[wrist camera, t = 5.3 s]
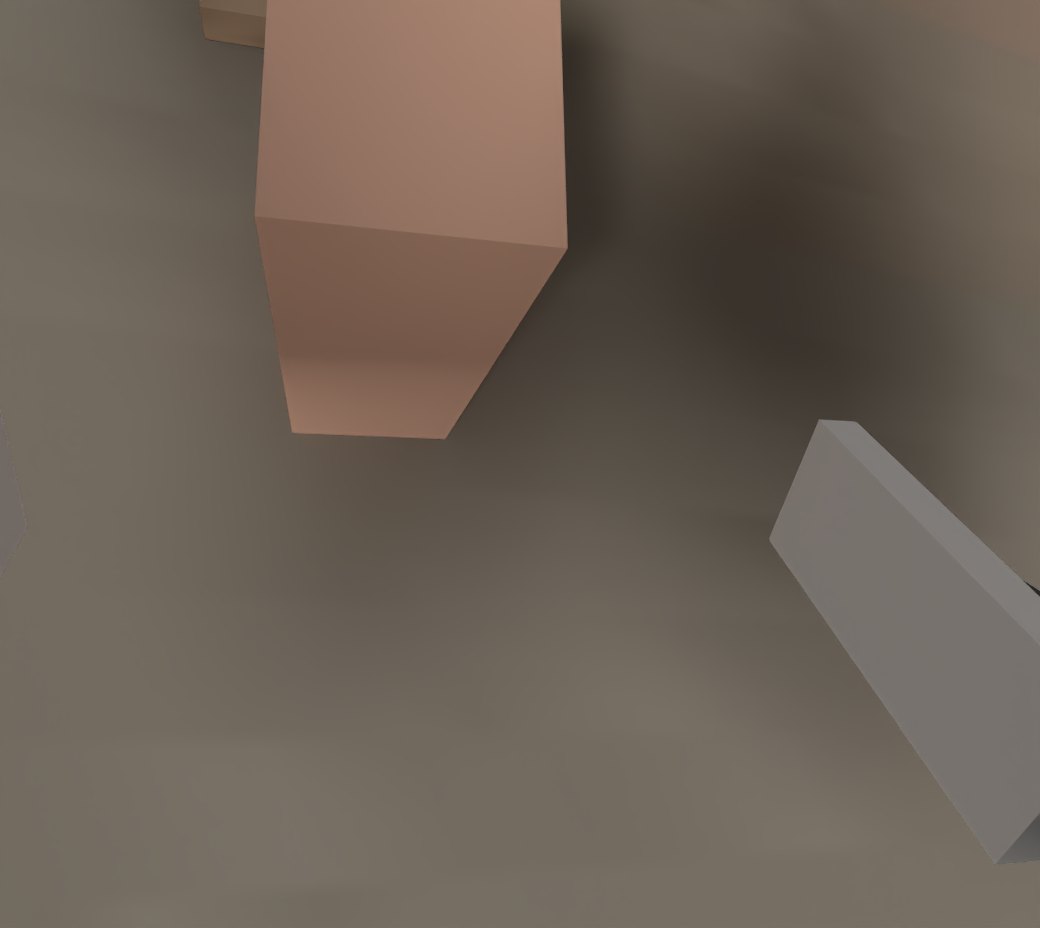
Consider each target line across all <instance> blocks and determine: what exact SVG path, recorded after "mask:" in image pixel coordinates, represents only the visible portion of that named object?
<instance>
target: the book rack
mask: <svg viewBox="0 0 1040 928" xmlns="http://www.w3.org/2000/svg"><path fill="white" fill-rule="evenodd" d="M199 10H200V15H201V20H202V25H203V29H204V34H205V39H208V40H215V41H221V42H228V43H234V44H241V45H247V46H254V47H260V48H264V46H265V29H266V12H267V0H199Z"/></svg>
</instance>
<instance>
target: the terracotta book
mask: <svg viewBox="0 0 1040 928" xmlns="http://www.w3.org/2000/svg"><path fill="white" fill-rule="evenodd" d="M255 221H256V227H257V233H258V239H259V244H260V250H261V256H262V262H263V267H264V273H265V279H266V285H267V290H268V296H269V302H270V308H271V314H272V319H273V325H274V331H275V337H276V342H277V348H278V354H279V360H280V365H281V371H282V377H283V383H284V388H285V394H286V400H287V406H288V411H289V417H290V423H291V429H292V433H308V434H332V435H356V436H381V437H405V438H429V439H446V437H447V436H448V434H449V433H450V431H451V430H452V428H453V426H454V425H455V423H456V422H457V420H458V419H459V417H460V416H461V414H462V412H463V411H464V409H465V408H466V406H467V405H468V403H469V402H470V400H471V398H472V397H473V395H474V394H475V392H476V391H477V389H478V387H479V386H480V384H481V383H482V381H483V380H484V378H485V377H486V375H487V373H488V372H489V370H490V369H491V367H492V366H493V364H494V363H495V361H496V359H497V358H498V356H499V355H500V353H501V352H502V350H503V349H504V347H505V345H506V344H507V342H508V341H509V339H510V338H511V336H512V334H513V333H514V331H515V330H516V328H517V327H518V325H519V324H520V322H521V320H522V319H523V317H524V316H525V314H526V313H527V311H528V310H529V308H530V306H531V305H532V303H533V302H534V300H535V299H536V297H537V296H538V294H539V292H540V291H541V289H542V288H543V286H544V285H545V283H546V281H547V280H548V278H549V277H550V275H551V274H552V272H553V271H554V269H555V267H556V266H557V264H558V263H559V261H560V260H561V258H562V257H563V255H564V253H565V252H566V250H567V249H568V243H567V209H566V176H565V142H564V109H563V75H562V42H561V8H560V0H267V12H266V29H265V46H264V63H263V80H262V97H261V114H260V132H259V149H258V166H257V183H256V200H255Z"/></svg>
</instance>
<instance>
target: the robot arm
mask: <svg viewBox="0 0 1040 928" xmlns="http://www.w3.org/2000/svg"><path fill="white" fill-rule="evenodd" d="M26 530H27V524H26V520H25V515H24V511H23V506H22V502H21V497H20V493H19V488H18V484H17V479H16V475H15V470H14V466H13V462H12V457H11V453H10V448H9V444H8V439H7V435H6V430H5V426H4V421H3V417H2V412H1V408H0V578H1V576H2V574H3V572H4V570H5V569H6V567H7V565H8V563H9V561H10V559H11V558H12V556H13V554H14V552H15V550H16V549H17V547H18V545H19V543H20V541H21V540H22V538H23V536H24V534H25V532H26ZM769 541H770V542H771V544H772V545H773V546H774V548H775V549H776V551H777V552H778V554H779V555H780V557H781V558H782V559H783V561H784V562H785V564H786V565H787V567H788V568H789V569H790V571H791V572H792V574H793V575H794V577H795V578H796V580H797V581H798V582H799V584H800V585H801V587H802V588H803V590H804V591H805V592H806V594H807V595H808V597H809V598H810V600H811V601H812V603H813V604H814V605H815V607H816V608H817V610H818V611H819V613H820V614H821V615H822V617H823V618H824V620H825V621H826V623H827V624H828V626H829V627H830V628H831V630H832V631H833V633H834V634H835V636H836V637H837V638H838V640H839V641H840V643H841V644H842V646H843V647H844V648H845V650H846V651H847V653H848V654H849V656H850V657H851V659H852V660H853V661H854V663H855V664H856V666H857V667H858V669H859V670H860V671H861V673H862V674H863V676H864V677H865V679H866V680H867V682H868V683H869V684H870V686H871V687H872V689H873V690H874V692H875V693H876V694H877V696H878V697H879V699H880V700H881V702H882V703H883V705H884V706H885V707H886V709H887V710H888V712H889V713H890V715H891V716H892V717H893V719H894V720H895V722H896V723H897V725H898V726H899V728H900V729H901V730H902V732H903V733H904V735H905V736H906V738H907V739H908V740H909V742H910V743H911V745H912V746H913V748H914V749H915V750H916V752H917V753H918V755H919V756H920V758H921V759H922V761H923V762H924V763H925V765H926V766H927V768H928V769H929V771H930V772H931V773H932V775H933V776H934V778H935V779H936V781H937V782H938V784H939V785H940V786H941V788H942V789H943V791H944V792H945V794H946V795H947V796H948V798H949V799H950V801H951V802H952V804H953V805H954V807H955V808H956V809H957V811H958V812H959V814H960V815H961V817H962V818H963V819H964V821H965V822H966V824H967V825H968V827H969V828H970V830H971V831H972V832H973V834H974V835H975V837H976V838H977V840H978V841H979V842H980V844H981V845H982V847H983V848H984V850H985V851H986V852H987V854H988V855H989V857H990V858H991V860H992V861H993V863H994V864H995V865H998V864H1007V863H1017V862H1027V861H1036V860H1040V591H1039V590H1037V589H1036V588H1034V587H1033V586H1031V585H1029V584H1028V583H1026V582H1025V581H1023V580H1022V579H1021V578H1020V577H1019V576H1017V575H1016V574H1015V573H1014V572H1013V571H1012V570H1011V569H1010V568H1009V567H1008V566H1007V565H1006V564H1005V563H1004V562H1003V561H1002V560H1001V559H1000V558H999V557H998V556H997V555H995V554H994V553H993V552H992V551H991V550H990V549H989V548H988V547H987V546H986V545H985V544H984V543H983V542H982V541H981V540H980V539H979V538H978V537H977V536H976V535H975V534H973V533H972V532H971V531H970V530H969V529H968V528H967V527H966V526H965V525H964V524H963V523H962V522H961V521H960V520H959V519H958V518H957V517H956V516H955V515H954V514H953V513H951V512H950V511H949V510H948V509H947V508H946V507H945V506H944V505H943V504H942V503H941V502H940V501H939V500H938V499H937V498H936V497H935V496H934V495H933V494H932V493H930V492H929V491H928V490H927V489H926V488H925V487H924V486H923V485H922V484H921V483H920V482H919V481H918V480H917V479H916V478H915V477H914V476H913V475H912V474H911V473H910V472H908V471H907V470H906V469H905V468H904V467H903V466H902V465H901V464H900V463H899V462H898V461H897V460H896V459H895V458H894V457H893V456H892V455H891V454H890V453H889V452H888V451H886V450H885V449H884V448H883V447H882V446H881V445H880V444H879V443H878V442H877V441H876V440H875V439H874V438H873V437H872V436H871V435H870V434H869V433H868V432H867V431H865V430H864V429H863V428H862V427H861V426H860V425H859V424H858V423H857V422H855V421H837V420H819V421H818V423H817V426H816V428H815V430H814V433H813V435H812V438H811V440H810V442H809V445H808V447H807V449H806V452H805V454H804V457H803V459H802V461H801V464H800V466H799V468H798V471H797V473H796V476H795V478H794V480H793V483H792V485H791V488H790V490H789V492H788V495H787V497H786V499H785V502H784V504H783V507H782V509H781V511H780V514H779V516H778V518H777V521H776V523H775V526H774V528H773V530H772V533H771V535H770V537H769Z"/></svg>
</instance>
